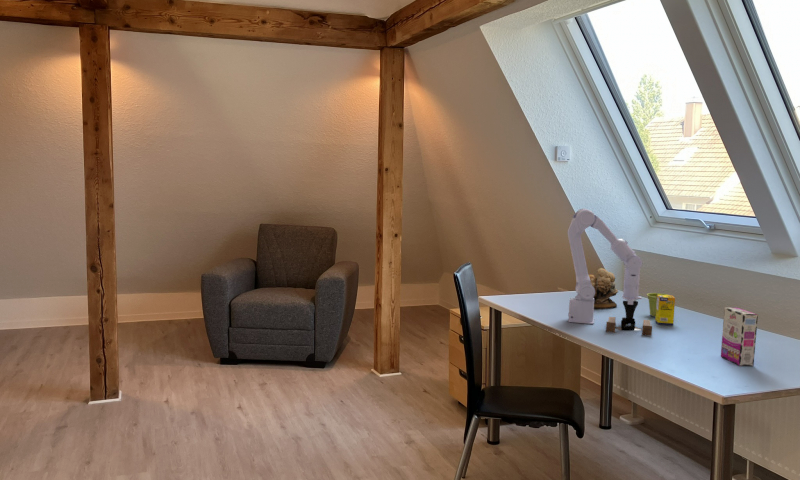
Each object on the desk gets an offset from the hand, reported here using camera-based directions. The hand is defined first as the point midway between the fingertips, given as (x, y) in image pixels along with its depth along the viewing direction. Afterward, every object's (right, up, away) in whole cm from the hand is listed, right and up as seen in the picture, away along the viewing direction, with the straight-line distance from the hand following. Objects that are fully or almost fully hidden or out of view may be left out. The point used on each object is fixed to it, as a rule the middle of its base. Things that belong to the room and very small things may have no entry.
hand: (629, 319), depth 268 cm
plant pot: (+17, -1, +16) cm, 23 cm away
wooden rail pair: (-3, -3, -10) cm, 11 cm away
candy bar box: (+18, -8, -50) cm, 53 cm away
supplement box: (+14, -2, +2) cm, 15 cm away
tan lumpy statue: (-2, +2, +33) cm, 33 cm away
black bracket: (-3, -3, -8) cm, 9 cm away
